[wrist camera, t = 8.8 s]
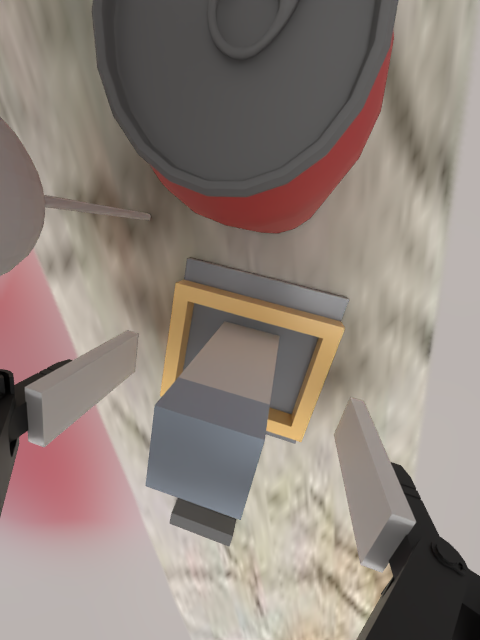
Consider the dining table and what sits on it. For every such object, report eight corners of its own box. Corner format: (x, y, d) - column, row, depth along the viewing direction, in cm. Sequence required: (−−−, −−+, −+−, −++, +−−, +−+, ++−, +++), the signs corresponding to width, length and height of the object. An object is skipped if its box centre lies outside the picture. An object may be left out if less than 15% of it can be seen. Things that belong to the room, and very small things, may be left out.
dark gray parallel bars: (190, 435, 23) (184, 448, 22) (255, 457, 22) (253, 472, 21) (176, 508, 26) (169, 523, 25) (232, 529, 25) (229, 546, 24)
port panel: (190, 257, 18) (178, 259, 16) (347, 297, 17) (354, 305, 15) (169, 397, 22) (157, 411, 20) (295, 438, 21) (295, 457, 19)
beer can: (355, 177, 15) (542, -7, 4) (268, 255, 17) (221, 286, 6) (282, 82, 14) (241, -480, 3) (202, 176, 17) (8, 44, 5)
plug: (224, 321, 19) (154, 405, 9) (279, 335, 18) (264, 440, 9) (215, 369, 20) (145, 486, 10) (266, 384, 19) (240, 519, 10)
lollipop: (184, 268, 19) (-154, 359, 5) (110, 255, 19) (-369, 296, 5) (191, 172, 17) (-366, -195, 3) (109, 161, 17) (-660, -163, 3)
